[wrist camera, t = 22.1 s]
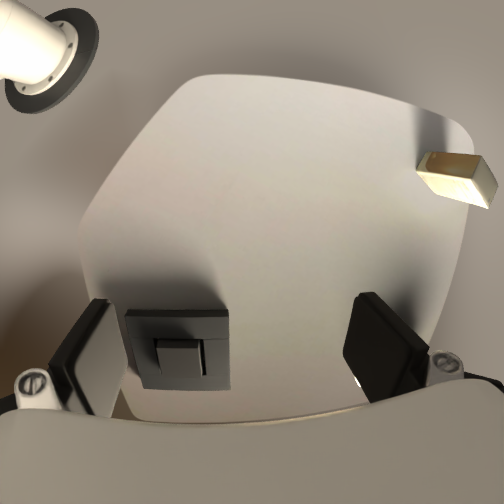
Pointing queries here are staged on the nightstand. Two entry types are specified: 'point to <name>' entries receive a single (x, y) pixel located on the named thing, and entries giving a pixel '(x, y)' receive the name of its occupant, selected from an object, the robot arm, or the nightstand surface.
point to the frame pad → (181, 327)
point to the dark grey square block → (180, 358)
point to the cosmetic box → (459, 177)
